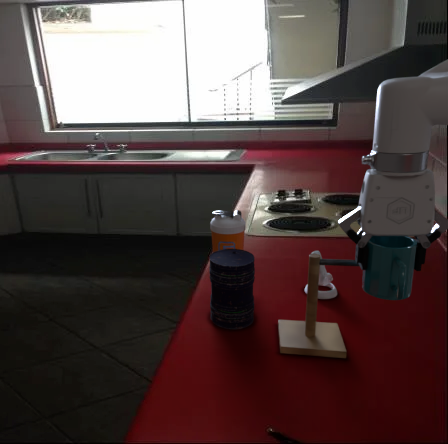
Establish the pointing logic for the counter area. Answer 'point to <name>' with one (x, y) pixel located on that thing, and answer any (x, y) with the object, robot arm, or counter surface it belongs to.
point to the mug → (390, 267)
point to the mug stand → (313, 321)
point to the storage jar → (232, 288)
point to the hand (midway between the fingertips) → (388, 266)
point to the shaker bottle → (227, 230)
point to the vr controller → (324, 282)
